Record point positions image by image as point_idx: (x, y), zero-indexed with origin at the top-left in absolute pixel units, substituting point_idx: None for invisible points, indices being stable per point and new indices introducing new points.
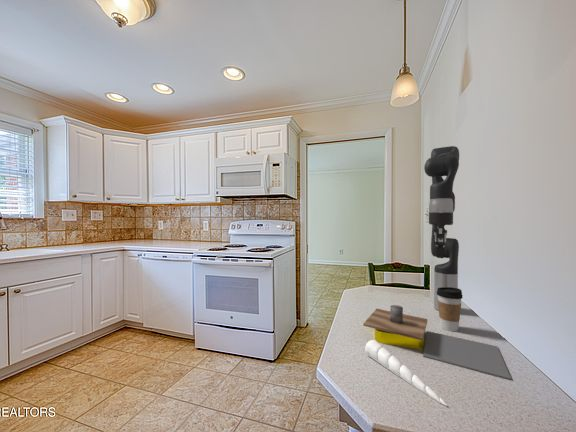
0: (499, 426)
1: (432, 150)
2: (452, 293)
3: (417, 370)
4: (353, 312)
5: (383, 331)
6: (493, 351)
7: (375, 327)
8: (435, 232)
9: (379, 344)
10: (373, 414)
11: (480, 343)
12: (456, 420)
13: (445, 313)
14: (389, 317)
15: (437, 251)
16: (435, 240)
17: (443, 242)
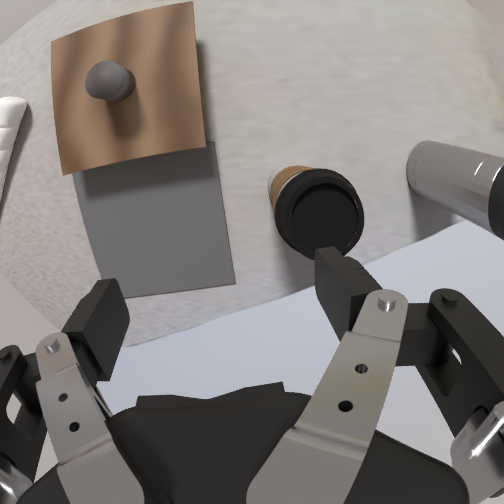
0: (10, 281)
1: None
2: (285, 233)
3: (27, 182)
4: None
5: None
6: (199, 278)
7: (52, 69)
8: (73, 484)
9: (3, 119)
10: None
11: (225, 256)
12: None
13: (272, 189)
14: (135, 58)
15: (84, 312)
16: (52, 374)
17: (22, 412)
